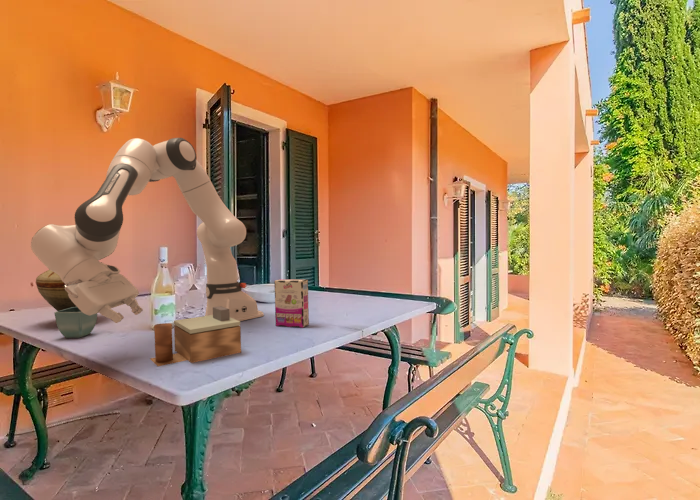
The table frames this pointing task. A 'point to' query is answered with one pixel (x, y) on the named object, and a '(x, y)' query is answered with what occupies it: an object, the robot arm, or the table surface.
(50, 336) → the table surface
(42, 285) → the amphora
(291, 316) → the candy bar box
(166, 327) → the brown wooden cylinder
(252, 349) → the table surface
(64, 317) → the flower pot
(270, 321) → the table surface
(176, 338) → the crate
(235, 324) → the lid
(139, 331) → the table surface
